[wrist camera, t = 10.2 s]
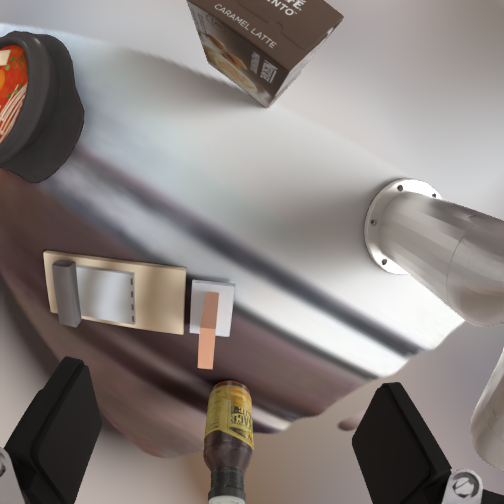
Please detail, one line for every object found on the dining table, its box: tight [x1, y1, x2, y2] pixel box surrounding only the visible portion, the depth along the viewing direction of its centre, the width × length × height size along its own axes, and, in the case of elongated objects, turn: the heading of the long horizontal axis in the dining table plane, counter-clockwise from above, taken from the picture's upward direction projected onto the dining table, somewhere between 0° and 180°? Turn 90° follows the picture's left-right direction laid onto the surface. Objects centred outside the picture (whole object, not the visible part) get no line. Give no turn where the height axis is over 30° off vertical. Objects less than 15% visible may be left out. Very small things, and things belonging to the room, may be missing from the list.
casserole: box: [0, 31, 84, 183], centre depth 25 cm, size 25×19×8 cm
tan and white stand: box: [190, 280, 235, 369], centre depth 34 cm, size 5×7×9 cm
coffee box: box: [187, 0, 344, 108], centre depth 23 cm, size 9×6×16 cm
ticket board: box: [43, 250, 187, 335], centre depth 36 cm, size 20×9×4 cm, turn 83°
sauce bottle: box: [204, 380, 253, 504], centre depth 34 cm, size 7×6×20 cm
